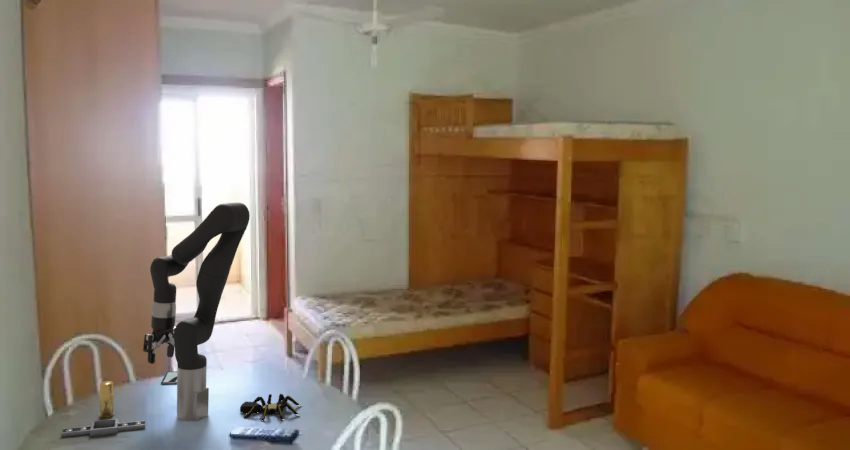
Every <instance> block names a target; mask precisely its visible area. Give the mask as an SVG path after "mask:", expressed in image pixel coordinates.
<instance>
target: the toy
mask: <svg viewBox="0 0 850 450" xmlns="http://www.w3.org/2000/svg"><path fill="white" fill-rule="evenodd" d="M272 397H273V396H272V393H271V394H270V393H269V394H268V397H267V401H266V400H265V399H264V398H263V396H257V397H256V398H255V399H254V400H253V401H245V402H243V403H241V405H240V407H239V411H240V413H242V414H243V415H244V416H243V417H242V419H243V418H244V419H248V418H249V417H251V416H252V415H254V414H253V413H256V414H258V413H257V412H260V414H263V415H262V417H261V420H264V421H265V419H266V417H267V415H275V414H277V413H278V417H279V420H281V419H284V420H285V418H284V416H283V411H284V410H285V409H286V408H287V409H288V410H289V411H290V412H291V413H293V414H294V415H295V414H299V413H298V412H297V411H296V409H295V408H294V407H293V406H292V404H294V405H295V406H296V405H299V404H300V403H299V402H298V401H296V400H295V398H293V397H292V396H290V395H286V396H284V394H282V393H279V395H278V401H277V402H276V403H272ZM288 401H289V402H291V403H292V404H290V403H289V402H288ZM258 402H260V403H261V404H260V403H258ZM246 413H247V414H246ZM271 413H273V414H271Z"/></svg>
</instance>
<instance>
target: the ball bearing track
mask: <svg viewBox="0 0 850 450" xmlns="http://www.w3.org/2000/svg"><path fill="white" fill-rule="evenodd" d="M104 426H105V427H104ZM143 429H146V420H144V419H143V420H135V421H134V420H133V421H124V422H119V418H108V419H107V418H106V419H99V420H92V421H91V425H85V426H76V427H75V426H74V427H64V428H62V432H61V435H60V436H61V438H67V437H76V436H85V435H86V436H87V435H89V436H90V437H98V436H99V435H100V436H107V435H108V434H109V435H117V434H118V432H123V431H133V430H143ZM100 436H99V437H100Z"/></svg>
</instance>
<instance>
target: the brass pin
mask: <svg viewBox="0 0 850 450" xmlns="http://www.w3.org/2000/svg"><path fill="white" fill-rule="evenodd" d="M113 416H114V382H113V381H111V380H109V381H108V380H107V381H103V382H100V383H99V417H100V418H102V417H103V419H104V417H105V419H107V417H108V418H111V417H113Z"/></svg>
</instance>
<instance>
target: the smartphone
mask: <svg viewBox="0 0 850 450" xmlns="http://www.w3.org/2000/svg"><path fill="white" fill-rule="evenodd" d="M160 385H162V386H167V385H169V386H170V385H176V386H177V370H176V371H166V372H165V374H164V376H163V378H162V380H161V382H160Z"/></svg>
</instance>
